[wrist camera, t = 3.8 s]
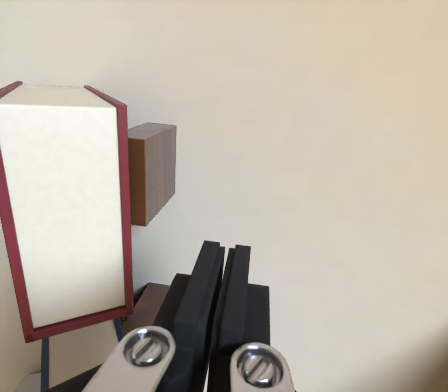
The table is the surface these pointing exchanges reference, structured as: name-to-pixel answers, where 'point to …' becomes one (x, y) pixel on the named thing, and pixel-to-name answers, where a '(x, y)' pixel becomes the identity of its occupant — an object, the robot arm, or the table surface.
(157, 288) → the walnut block
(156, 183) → the walnut block
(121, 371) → the robot arm
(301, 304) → the table surface
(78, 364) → the navy book
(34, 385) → the can
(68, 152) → the burgundy book
